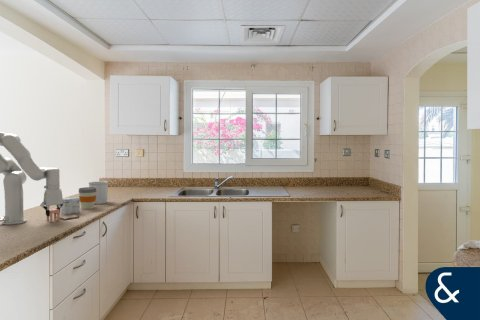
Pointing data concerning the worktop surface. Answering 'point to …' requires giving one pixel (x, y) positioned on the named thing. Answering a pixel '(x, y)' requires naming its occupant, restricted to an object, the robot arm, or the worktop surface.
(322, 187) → the worktop surface
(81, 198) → the reusable coffee cup
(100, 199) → the utensil holder
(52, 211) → the pink notched block
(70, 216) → the walnut board
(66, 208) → the light bulb box
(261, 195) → the worktop surface
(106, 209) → the worktop surface
